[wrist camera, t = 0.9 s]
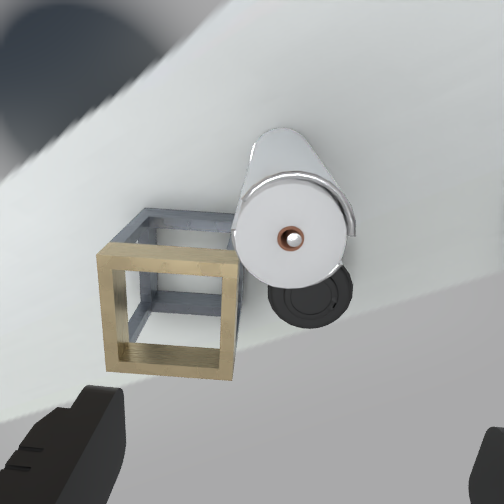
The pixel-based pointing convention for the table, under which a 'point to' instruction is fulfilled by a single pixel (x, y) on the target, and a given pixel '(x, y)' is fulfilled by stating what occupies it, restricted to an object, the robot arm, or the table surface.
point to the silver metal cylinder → (290, 214)
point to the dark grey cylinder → (313, 301)
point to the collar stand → (168, 295)
